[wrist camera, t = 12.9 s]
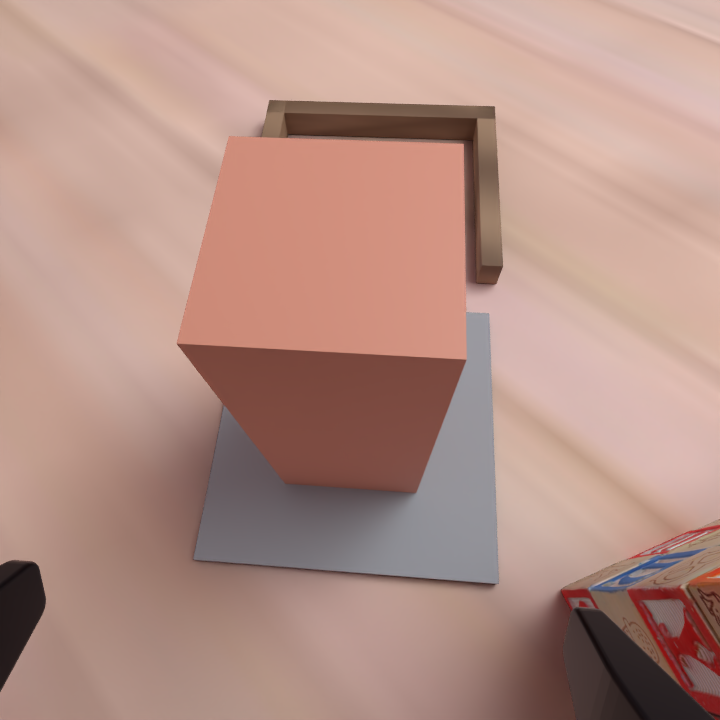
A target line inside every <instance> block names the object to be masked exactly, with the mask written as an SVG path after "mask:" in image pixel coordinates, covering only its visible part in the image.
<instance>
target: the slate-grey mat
mask: <svg viewBox="0 0 720 720" xmlns="http://www.w3.org/2000/svg"><path fill="white" fill-rule="evenodd" d="M466 342H467V360H466V363H465V366H464V368H463V371H462V373H461V376H460V379H459V381H458V384H457V387H456V389H455V392H454V395H453V397H452V400H451V403H450V405H449V408H448V411H447V413H446V416H445V418H444V421H443V424H442V426H441V429H440V432H439V434H438V437H437V440H436V442H435V445H434V448H433V450H432V453H431V456H430V458H429V461H428V463H427V466H426V469H425V471H424V474H423V477H422V479H421V482H420V485H419V487H418V490H417V493H410V492H395V491H381V490H367V489H353V488H339V487H324V486H310V485H296V484H285V483H284V482H283V480H282V479H281V478H280V477H279V475H278V474H277V473H276V471H275V470H274V469H273V467H272V466H271V465H270V464H269V462H268V461H267V460H266V458H265V457H264V456H263V455H262V453H261V452H260V451H259V449H258V448H257V447H256V445H255V444H254V443H253V442H252V440H251V439H250V438H249V436H248V435H247V434H246V433H245V431H244V430H243V429H242V427H241V426H240V425H239V424H238V422H237V421H236V420H235V418H234V417H233V416H232V414H231V413H230V412H229V411H228V409H227V408H226V407H225V405H224V407H223V412H222V417H221V422H220V427H219V432H218V437H217V442H216V447H215V452H214V458H213V463H212V468H211V473H210V478H209V483H208V488H207V493H206V498H205V503H204V508H203V513H202V518H201V523H200V528H199V533H198V538H197V543H196V548H195V553H194V558H193V559H194V560H201V561H213V562H226V563H238V564H251V565H263V566H276V567H289V568H301V569H314V570H326V571H339V572H351V573H364V574H376V575H389V576H401V577H414V578H426V579H439V580H452V581H464V582H477V583H489V584H499V573H498V545H497V518H496V490H495V462H494V435H493V407H492V379H491V352H490V324H489V313H470V312H466Z"/></svg>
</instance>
